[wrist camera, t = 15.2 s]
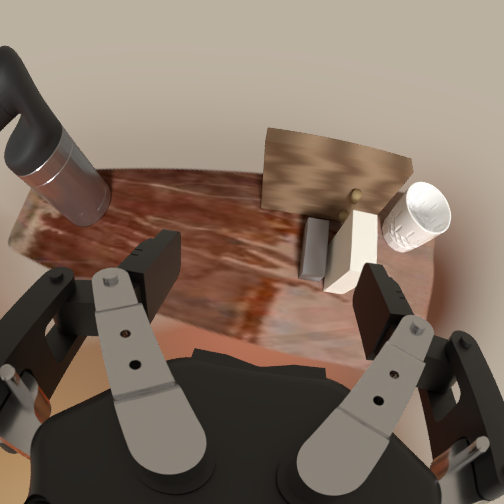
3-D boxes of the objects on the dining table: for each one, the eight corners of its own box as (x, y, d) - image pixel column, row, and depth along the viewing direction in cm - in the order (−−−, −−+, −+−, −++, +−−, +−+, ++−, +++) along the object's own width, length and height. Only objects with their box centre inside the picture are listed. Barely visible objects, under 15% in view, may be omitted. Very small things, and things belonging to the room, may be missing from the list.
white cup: (413, 264, 41) (447, 243, 32) (372, 243, 42) (401, 216, 33) (422, 224, 43) (453, 198, 34) (385, 203, 45) (411, 172, 35)
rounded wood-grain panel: (250, 270, 41) (249, 226, 26) (263, 196, 45) (268, 127, 29) (365, 288, 40) (421, 256, 25) (367, 215, 44) (412, 159, 29)
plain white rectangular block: (323, 291, 40) (349, 270, 29) (328, 245, 42) (353, 209, 31) (342, 294, 40) (375, 274, 29) (346, 248, 42) (377, 215, 31)
